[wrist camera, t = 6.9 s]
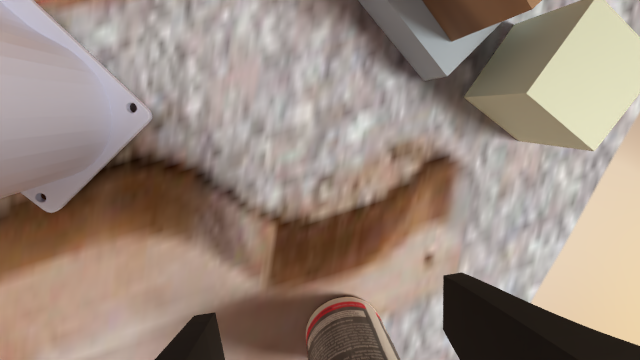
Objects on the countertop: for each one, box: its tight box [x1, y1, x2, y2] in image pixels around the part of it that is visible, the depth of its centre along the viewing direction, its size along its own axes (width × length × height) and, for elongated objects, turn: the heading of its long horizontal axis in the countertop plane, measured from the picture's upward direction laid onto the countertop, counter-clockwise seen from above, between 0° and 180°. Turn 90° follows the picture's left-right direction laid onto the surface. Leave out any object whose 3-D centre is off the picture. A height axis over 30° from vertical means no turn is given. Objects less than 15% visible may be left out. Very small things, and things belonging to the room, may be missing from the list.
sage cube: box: [464, 0, 640, 151], centre depth 16 cm, size 5×5×5 cm
